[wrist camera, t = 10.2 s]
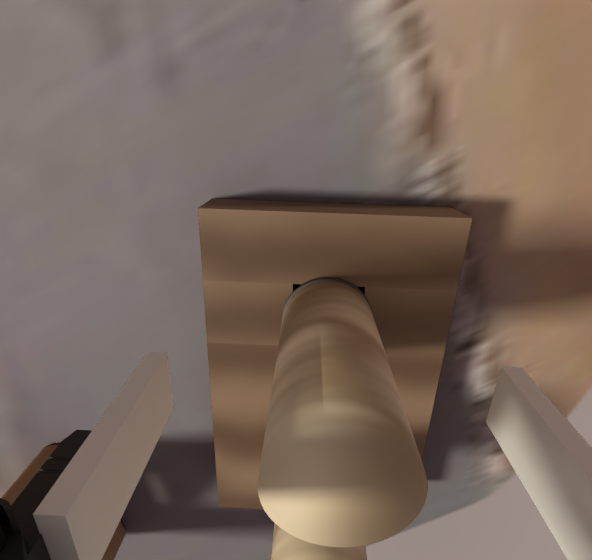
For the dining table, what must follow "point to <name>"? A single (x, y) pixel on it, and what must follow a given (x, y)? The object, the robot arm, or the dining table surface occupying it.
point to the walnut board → (278, 287)
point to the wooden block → (30, 473)
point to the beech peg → (337, 425)
